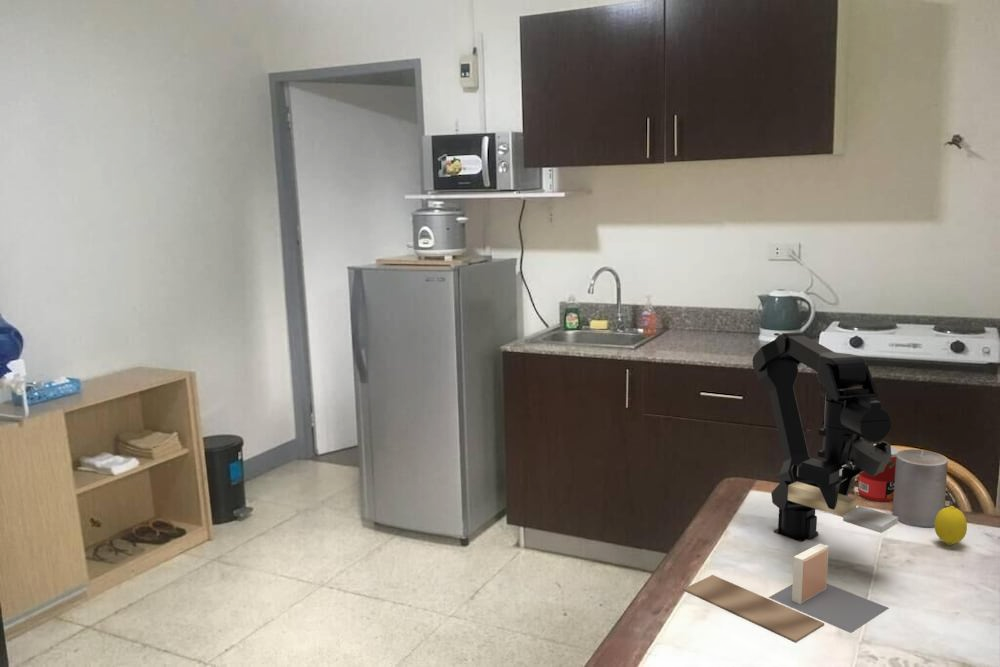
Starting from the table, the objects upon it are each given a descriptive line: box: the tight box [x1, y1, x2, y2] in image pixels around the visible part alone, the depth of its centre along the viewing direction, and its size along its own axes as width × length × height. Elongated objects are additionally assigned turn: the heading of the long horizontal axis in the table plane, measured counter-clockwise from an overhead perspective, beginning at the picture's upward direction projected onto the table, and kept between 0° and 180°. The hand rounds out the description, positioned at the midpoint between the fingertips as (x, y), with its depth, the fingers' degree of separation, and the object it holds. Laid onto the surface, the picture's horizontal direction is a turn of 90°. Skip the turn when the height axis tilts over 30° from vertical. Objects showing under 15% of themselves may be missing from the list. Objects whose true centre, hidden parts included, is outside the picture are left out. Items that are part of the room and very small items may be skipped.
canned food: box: [857, 443, 899, 503], centre depth 189 cm, size 8×8×11 cm
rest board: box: [683, 574, 825, 643], centre depth 142 cm, size 22×8×1 cm, turn 38°
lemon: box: [934, 505, 968, 546], centre depth 164 cm, size 6×6×8 cm
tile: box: [792, 543, 829, 604], centre depth 144 cm, size 2×8×8 cm, turn 128°
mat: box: [768, 583, 890, 634], centre depth 143 cm, size 15×12×1 cm
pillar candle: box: [892, 449, 949, 528], centre depth 176 cm, size 10×10×15 cm
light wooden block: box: [788, 482, 899, 534], centre depth 155 cm, size 19×6×3 cm, turn 40°
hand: (836, 506), depth 155 cm, fingers closed on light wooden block, 3 cm apart
